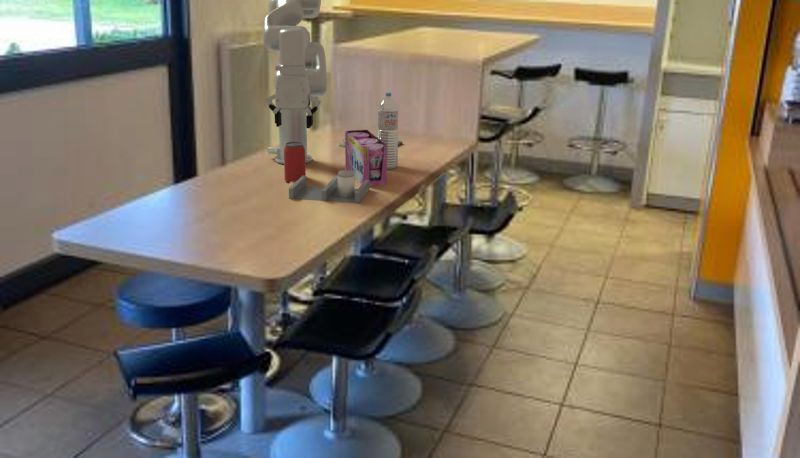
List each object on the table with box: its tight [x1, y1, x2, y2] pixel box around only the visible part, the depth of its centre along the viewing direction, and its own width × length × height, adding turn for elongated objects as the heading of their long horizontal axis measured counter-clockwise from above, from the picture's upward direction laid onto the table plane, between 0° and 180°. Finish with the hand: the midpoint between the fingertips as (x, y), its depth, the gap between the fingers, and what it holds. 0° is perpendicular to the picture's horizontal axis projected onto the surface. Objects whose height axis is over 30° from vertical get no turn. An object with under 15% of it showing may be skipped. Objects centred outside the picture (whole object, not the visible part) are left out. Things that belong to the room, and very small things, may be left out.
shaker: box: [336, 169, 356, 198], centre depth 237 cm, size 5×5×7 cm
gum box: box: [344, 129, 388, 187], centre depth 257 cm, size 24×8×14 cm, turn 18°
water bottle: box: [377, 92, 400, 170], centre depth 269 cm, size 7×7×25 cm
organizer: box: [288, 175, 370, 204], centre depth 239 cm, size 21×14×4 cm
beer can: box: [283, 142, 307, 184], centre depth 253 cm, size 7×7×12 cm
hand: (293, 126), depth 249 cm, fingers open, 9 cm apart
